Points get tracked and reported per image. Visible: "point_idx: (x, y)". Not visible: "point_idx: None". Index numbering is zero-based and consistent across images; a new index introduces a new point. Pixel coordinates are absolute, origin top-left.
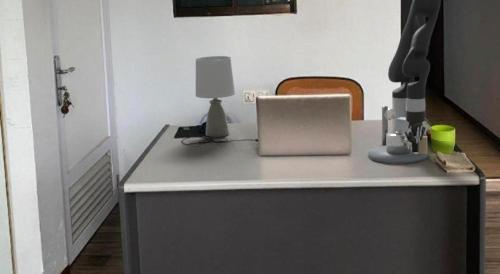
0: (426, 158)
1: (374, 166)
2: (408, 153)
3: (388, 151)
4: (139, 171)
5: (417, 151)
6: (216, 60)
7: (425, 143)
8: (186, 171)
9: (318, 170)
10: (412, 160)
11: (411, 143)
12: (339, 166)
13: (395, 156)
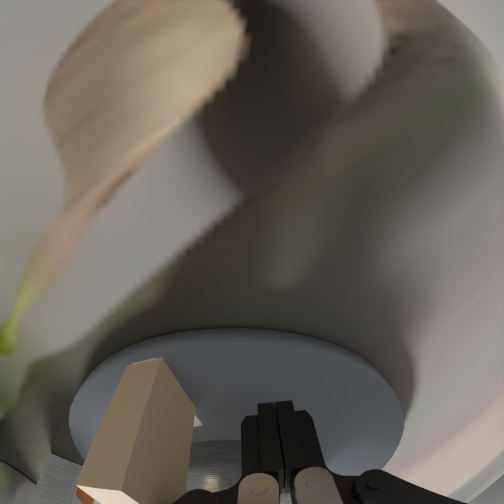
0: (168, 334)
1: (439, 412)
2: (237, 441)
3: None
4: (476, 496)
5: (278, 403)
6: None
7: (143, 436)
8: (478, 488)
9: (483, 442)
10: (342, 355)
11: (55, 463)
12: (449, 453)
13: (339, 445)
